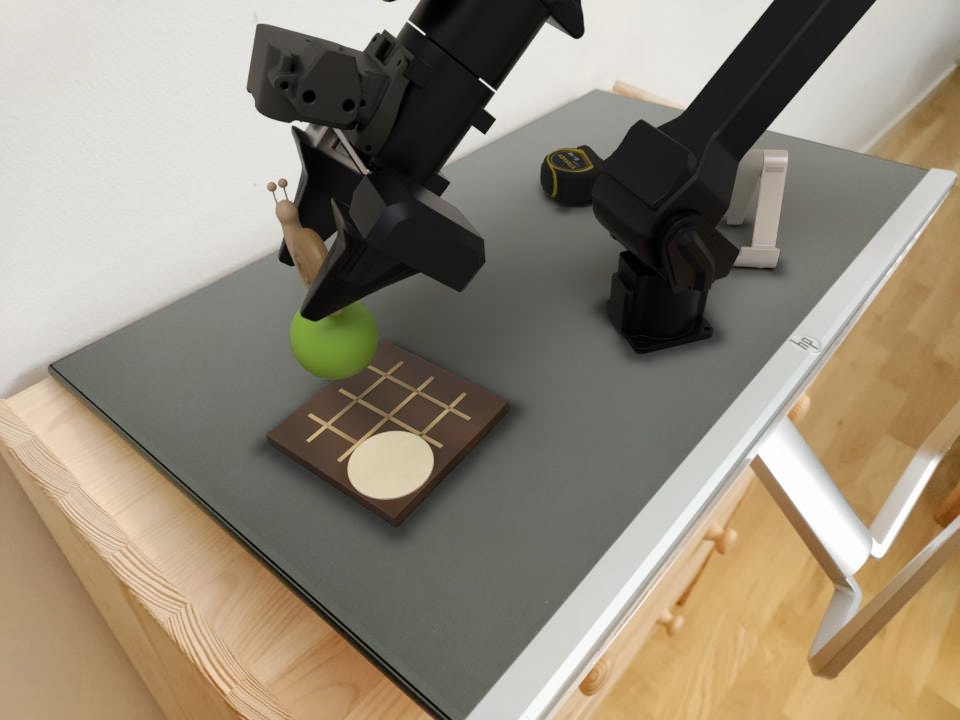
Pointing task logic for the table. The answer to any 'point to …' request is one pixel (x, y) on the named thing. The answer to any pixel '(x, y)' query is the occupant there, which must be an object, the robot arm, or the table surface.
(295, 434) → the game board
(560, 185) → the tape measure
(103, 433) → the table surface
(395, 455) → the cream round disc
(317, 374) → the snail figurine
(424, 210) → the robot arm
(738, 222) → the tablet stand
